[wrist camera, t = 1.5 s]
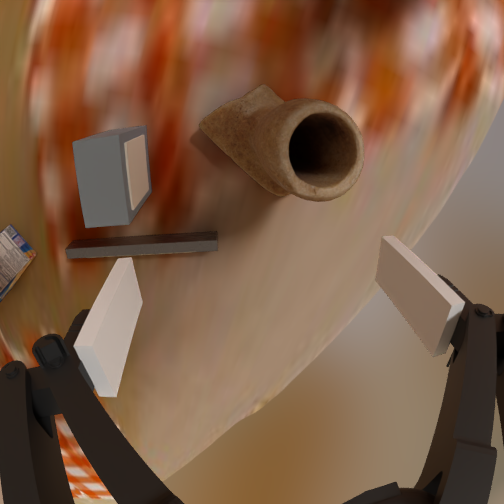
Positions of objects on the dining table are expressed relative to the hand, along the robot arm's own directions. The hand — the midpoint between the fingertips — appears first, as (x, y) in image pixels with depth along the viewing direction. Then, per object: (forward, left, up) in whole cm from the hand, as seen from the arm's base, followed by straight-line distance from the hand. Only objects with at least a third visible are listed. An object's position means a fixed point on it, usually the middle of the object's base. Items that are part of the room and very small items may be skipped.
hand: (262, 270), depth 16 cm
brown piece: (-4, +5, -28) cm, 28 cm away
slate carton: (-2, -14, -27) cm, 31 cm away
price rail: (+10, -14, -27) cm, 32 cm away
